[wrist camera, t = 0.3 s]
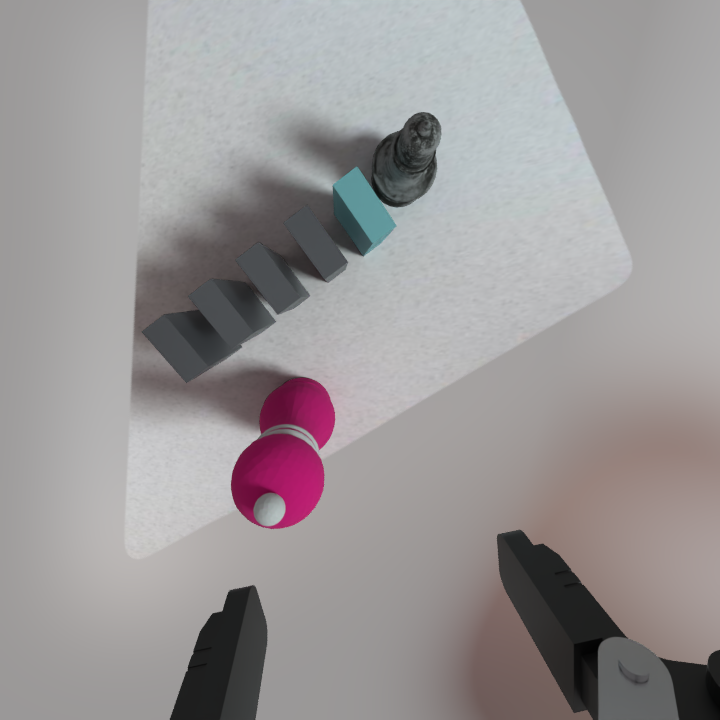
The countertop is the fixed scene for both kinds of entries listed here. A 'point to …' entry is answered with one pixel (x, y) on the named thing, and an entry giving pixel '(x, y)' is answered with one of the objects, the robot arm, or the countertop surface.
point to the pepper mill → (285, 456)
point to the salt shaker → (407, 161)
